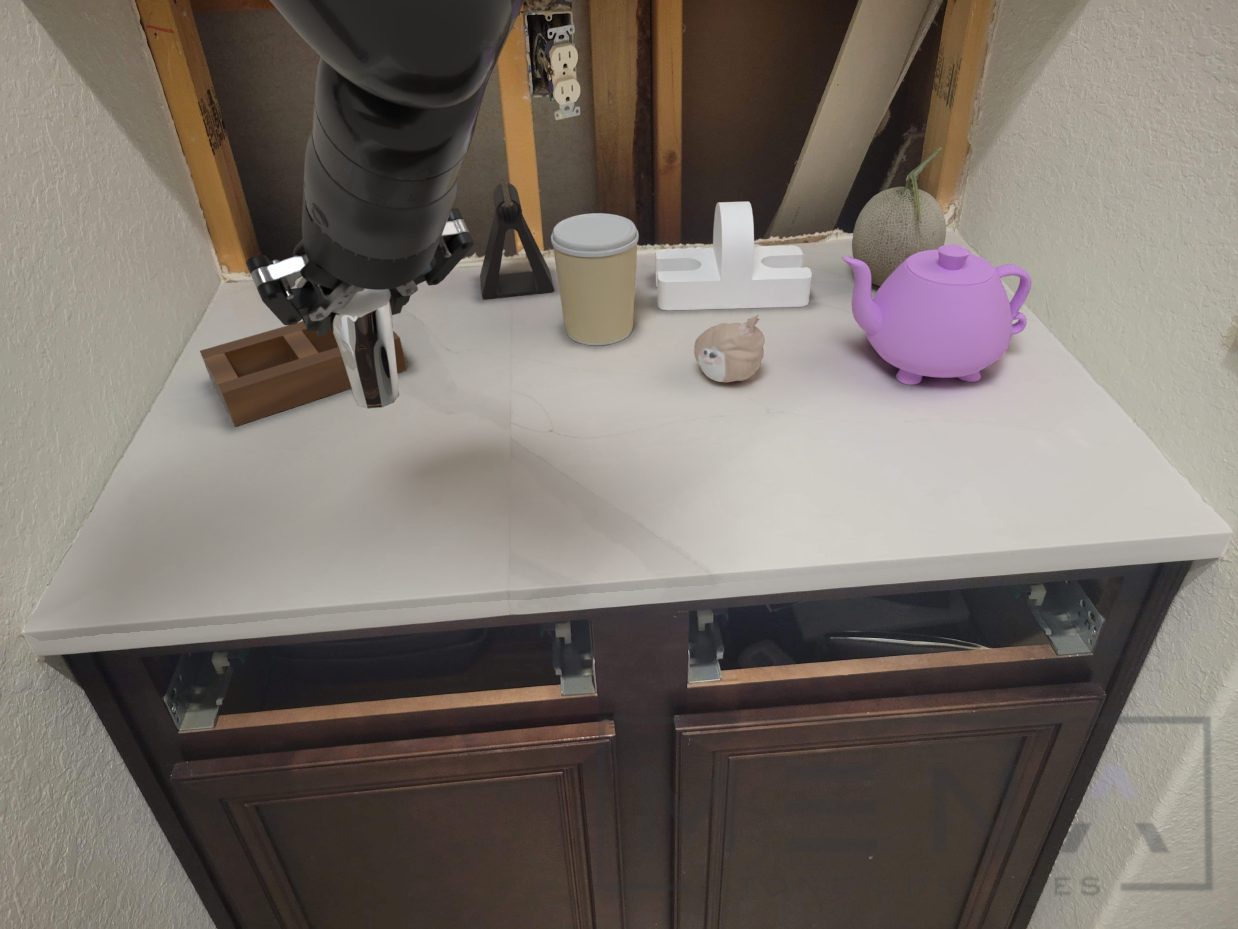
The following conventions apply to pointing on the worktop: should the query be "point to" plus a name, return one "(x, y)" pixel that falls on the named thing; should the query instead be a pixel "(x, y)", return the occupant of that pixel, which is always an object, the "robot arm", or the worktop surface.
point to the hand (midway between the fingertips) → (353, 312)
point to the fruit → (898, 227)
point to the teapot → (940, 313)
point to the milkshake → (368, 347)
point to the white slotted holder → (732, 269)
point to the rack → (278, 371)
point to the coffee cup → (596, 276)
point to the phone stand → (490, 271)
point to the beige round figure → (730, 350)
